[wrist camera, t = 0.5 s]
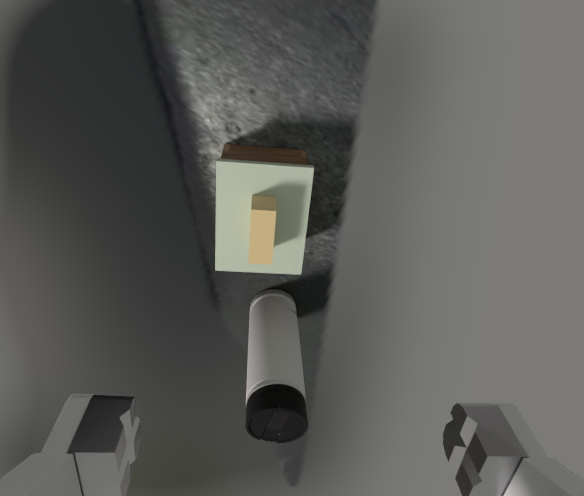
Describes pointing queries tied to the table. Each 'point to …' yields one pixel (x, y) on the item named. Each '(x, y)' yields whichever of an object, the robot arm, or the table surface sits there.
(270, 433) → the travel mug
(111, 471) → the robot arm
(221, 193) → the lid
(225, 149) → the walnut box
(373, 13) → the table surface
